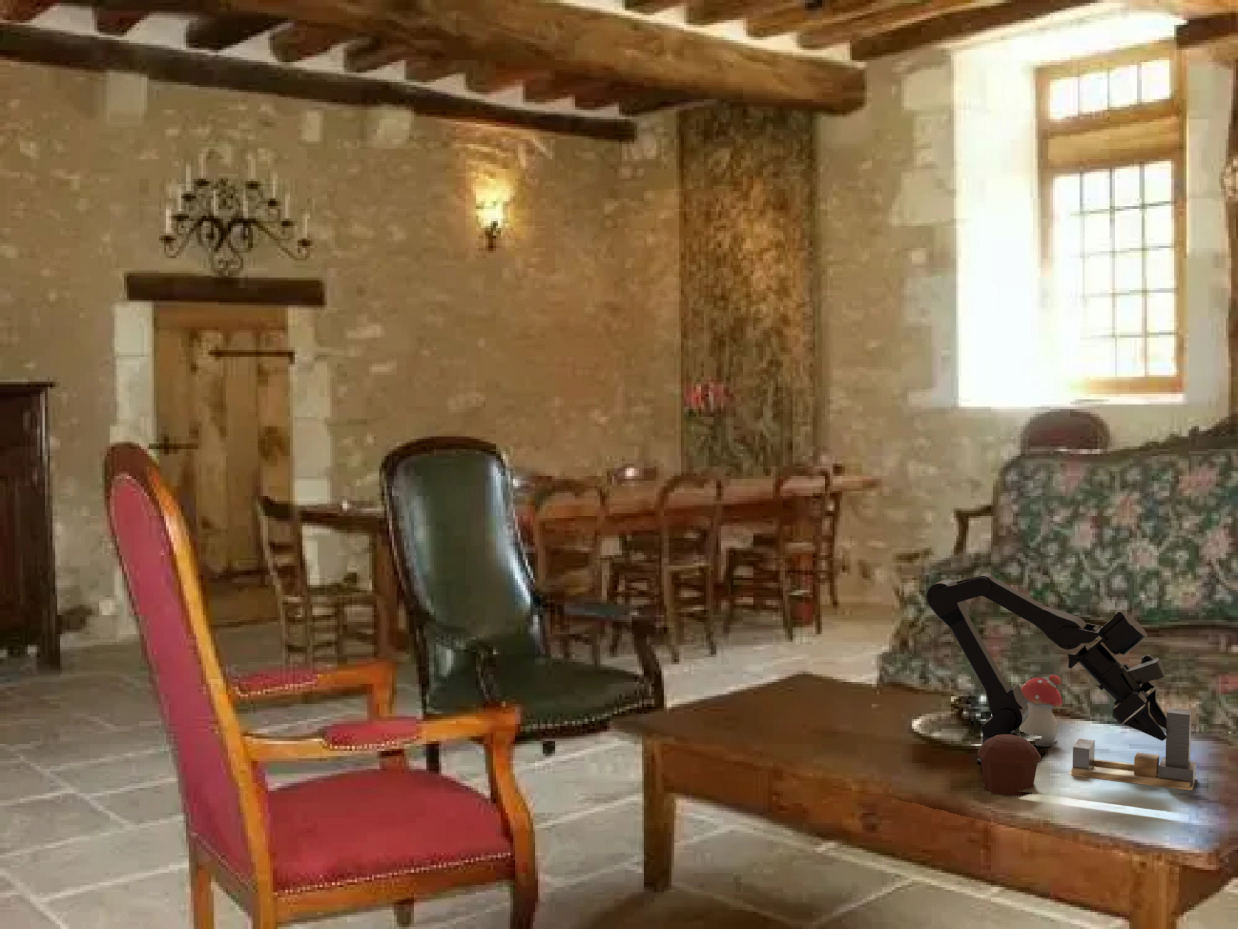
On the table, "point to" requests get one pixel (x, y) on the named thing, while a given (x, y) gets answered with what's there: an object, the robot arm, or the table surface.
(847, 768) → the table surface
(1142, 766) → the walnut block
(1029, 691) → the decorative ornament
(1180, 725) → the block
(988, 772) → the muffin
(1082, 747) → the block
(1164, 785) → the wooden tray
